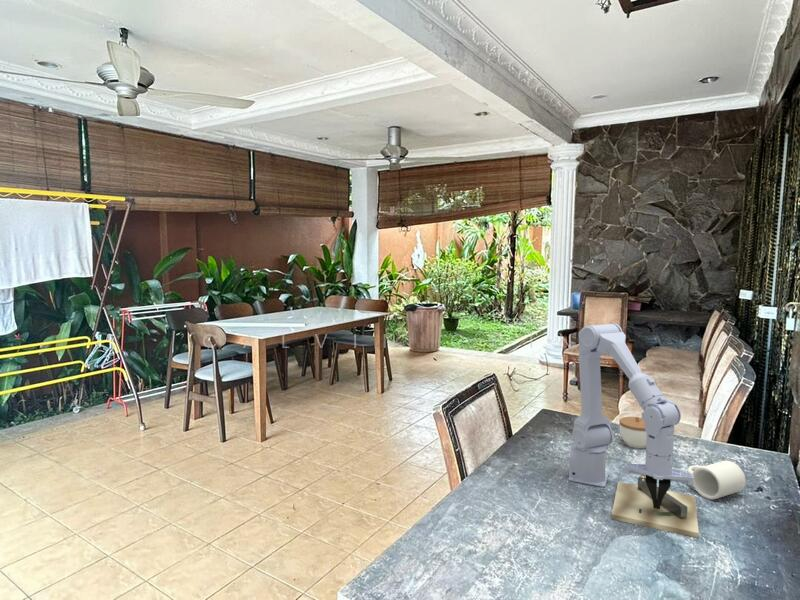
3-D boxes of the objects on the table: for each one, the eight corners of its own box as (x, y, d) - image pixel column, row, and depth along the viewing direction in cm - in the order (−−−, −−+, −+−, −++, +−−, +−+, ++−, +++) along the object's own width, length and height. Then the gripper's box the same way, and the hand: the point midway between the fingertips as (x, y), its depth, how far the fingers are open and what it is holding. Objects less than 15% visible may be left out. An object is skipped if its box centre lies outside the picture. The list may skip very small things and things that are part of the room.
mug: (745, 496, 133) (747, 467, 132) (720, 505, 129) (722, 474, 128) (701, 478, 144) (702, 450, 143) (676, 485, 139) (678, 457, 139)
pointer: (679, 518, 119) (680, 504, 119) (635, 487, 135) (636, 474, 135) (688, 517, 120) (688, 503, 120) (643, 486, 136) (643, 474, 135)
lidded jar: (658, 444, 168) (660, 416, 167) (648, 454, 160) (650, 425, 159) (624, 436, 175) (625, 409, 174) (613, 445, 167) (614, 417, 166)
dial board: (611, 518, 122) (611, 513, 122) (617, 485, 139) (618, 481, 139) (698, 538, 114) (698, 532, 114) (694, 500, 131) (694, 495, 131)
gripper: (624, 452, 121) (622, 507, 123) (695, 464, 115) (692, 522, 116) (626, 442, 128) (624, 494, 129) (693, 453, 121) (690, 507, 122)
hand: (656, 506), depth 123 cm, fingers closed
